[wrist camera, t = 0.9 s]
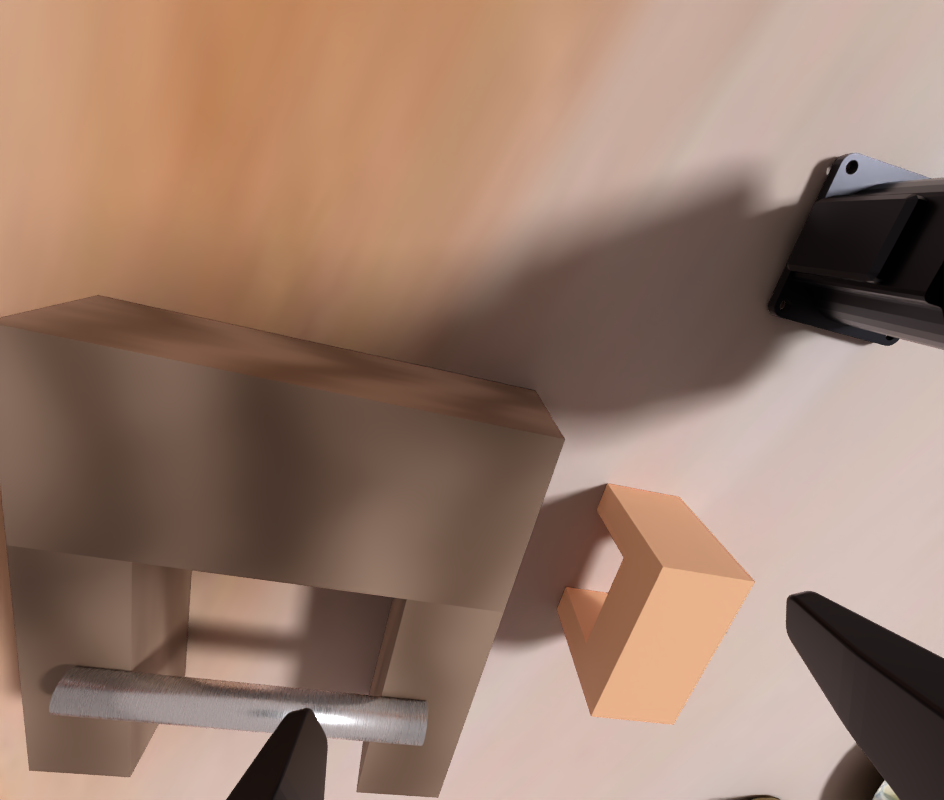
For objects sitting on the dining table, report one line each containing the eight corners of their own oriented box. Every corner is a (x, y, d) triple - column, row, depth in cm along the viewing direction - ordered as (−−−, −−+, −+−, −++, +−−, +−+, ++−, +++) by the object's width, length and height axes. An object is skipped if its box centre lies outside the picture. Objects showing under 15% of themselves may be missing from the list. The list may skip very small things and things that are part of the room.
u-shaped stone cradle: (535, 390, 21) (564, 439, 16) (436, 700, 28) (437, 797, 23) (97, 295, 18) (-17, 321, 14) (104, 667, 25) (29, 770, 20)
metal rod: (428, 692, 21) (427, 729, 19) (420, 717, 21) (419, 754, 20) (78, 656, 18) (47, 694, 17) (80, 685, 19) (50, 725, 17)
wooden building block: (679, 497, 24) (754, 581, 18) (622, 618, 27) (673, 724, 21) (607, 483, 23) (663, 567, 18) (556, 609, 26) (591, 716, 20)
